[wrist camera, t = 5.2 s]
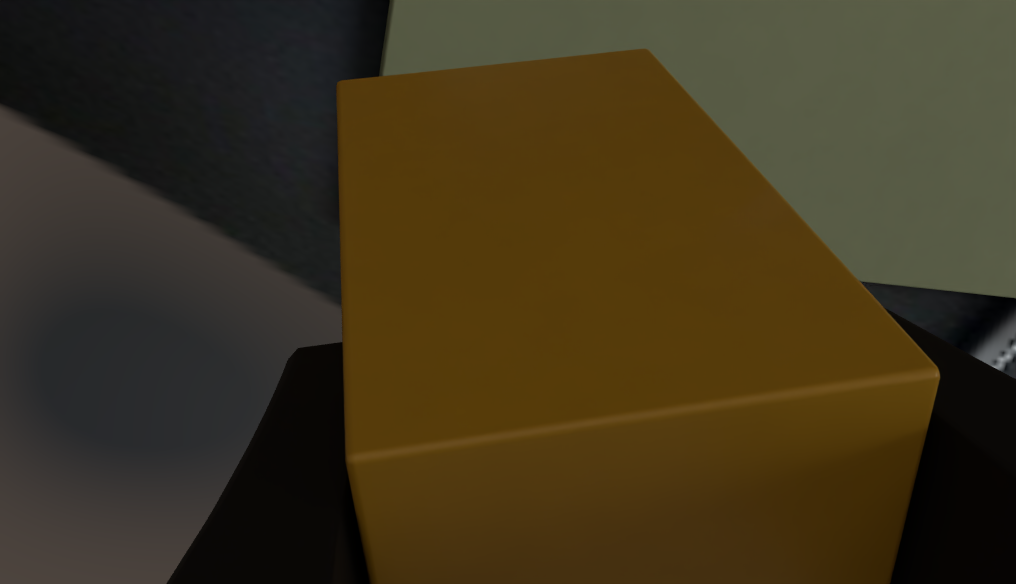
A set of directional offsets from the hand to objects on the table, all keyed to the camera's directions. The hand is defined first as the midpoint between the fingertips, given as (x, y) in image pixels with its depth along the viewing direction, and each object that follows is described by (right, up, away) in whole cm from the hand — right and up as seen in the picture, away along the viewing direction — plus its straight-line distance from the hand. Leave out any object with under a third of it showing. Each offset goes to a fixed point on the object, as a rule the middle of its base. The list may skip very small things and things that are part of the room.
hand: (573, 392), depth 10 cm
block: (-1, +2, +3) cm, 4 cm away
